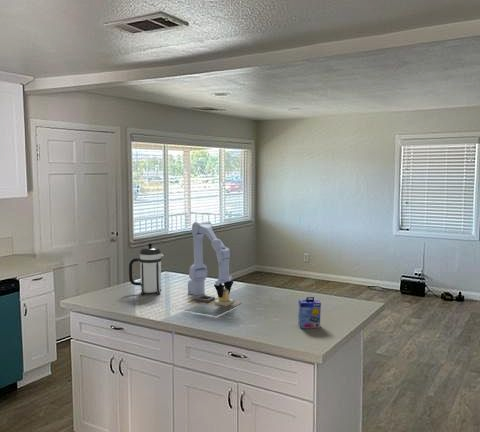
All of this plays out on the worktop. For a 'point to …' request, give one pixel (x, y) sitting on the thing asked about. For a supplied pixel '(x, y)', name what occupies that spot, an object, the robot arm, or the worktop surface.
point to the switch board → (216, 304)
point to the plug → (224, 296)
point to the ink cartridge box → (309, 313)
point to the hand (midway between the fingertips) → (223, 295)
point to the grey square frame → (203, 299)
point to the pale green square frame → (224, 302)
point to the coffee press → (148, 270)
